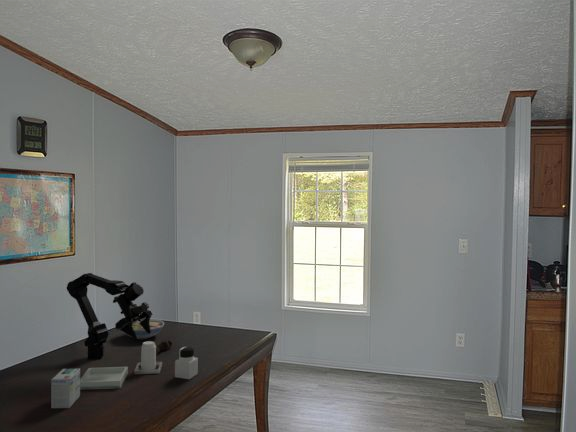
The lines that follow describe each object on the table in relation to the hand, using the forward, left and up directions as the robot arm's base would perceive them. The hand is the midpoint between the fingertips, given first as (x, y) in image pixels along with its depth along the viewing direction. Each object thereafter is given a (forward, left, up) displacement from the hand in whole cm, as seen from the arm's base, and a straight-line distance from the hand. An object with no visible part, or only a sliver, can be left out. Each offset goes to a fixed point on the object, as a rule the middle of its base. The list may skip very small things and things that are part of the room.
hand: (143, 335), depth 210 cm
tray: (-13, -16, -14) cm, 25 cm away
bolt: (+6, +21, -14) cm, 26 cm away
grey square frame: (+3, -4, -14) cm, 15 cm away
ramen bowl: (-7, +46, -14) cm, 48 cm away
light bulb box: (-22, -35, -14) cm, 44 cm away
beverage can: (+3, -4, -14) cm, 15 cm away
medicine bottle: (+20, -13, -14) cm, 28 cm away
